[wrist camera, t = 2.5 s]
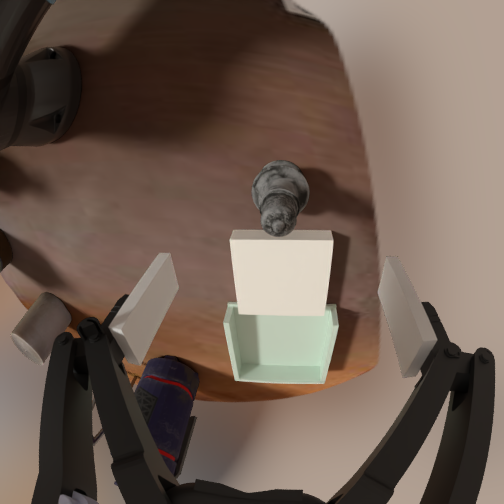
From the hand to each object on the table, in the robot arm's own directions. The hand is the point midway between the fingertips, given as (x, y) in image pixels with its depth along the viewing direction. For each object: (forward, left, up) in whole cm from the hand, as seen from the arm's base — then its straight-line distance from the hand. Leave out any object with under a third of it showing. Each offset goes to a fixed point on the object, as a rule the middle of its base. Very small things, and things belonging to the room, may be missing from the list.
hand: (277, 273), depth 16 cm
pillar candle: (+25, -50, -17) cm, 59 cm away
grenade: (+40, -22, -17) cm, 49 cm away
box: (+26, 0, -17) cm, 31 cm away
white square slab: (+12, 0, -17) cm, 21 cm away
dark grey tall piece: (0, 0, -17) cm, 17 cm away
